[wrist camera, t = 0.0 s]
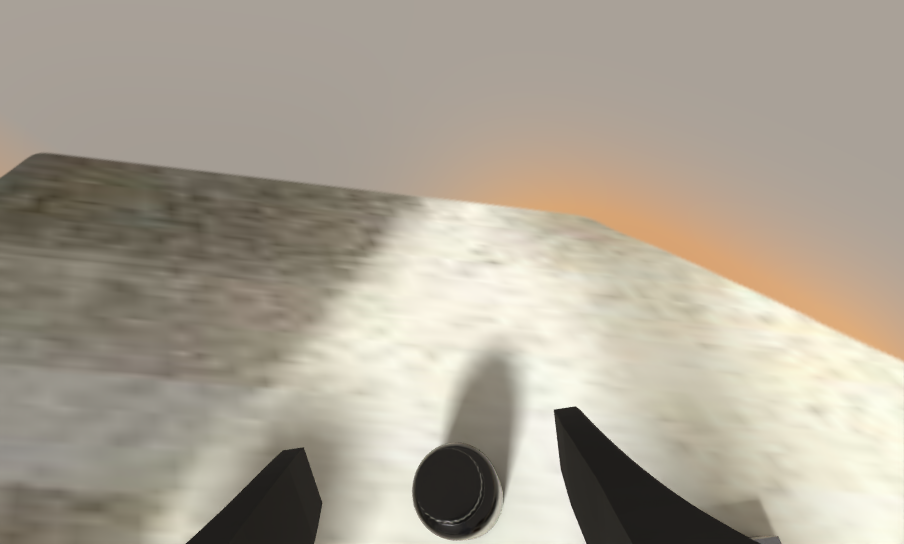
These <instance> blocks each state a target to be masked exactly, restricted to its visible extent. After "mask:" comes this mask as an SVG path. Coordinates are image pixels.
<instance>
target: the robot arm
mask: <svg viewBox="0 0 904 544" xmlns="http://www.w3.org/2000/svg"><path fill="white" fill-rule="evenodd" d="M554 415H555V424H556V432H557V441H558V449H559V458H560V466H561V471H562V475H563V479H564V482H565V486H566V489H567V493H568V496H569V500H570V503H571V506H572V509H573V511H574V514H575V516H576V519H577V521H578V524H579V526H580V529H581V531H582V534H583V536H584V539H585V541H586V544H761V543H759V542H757V541H755V540H753V539H751V538H749V537H747V536H745V535H743V534H741V533H739V532H738V531H736V530H734V529H732V528H730V527H729V526H727V525H725V524H724V523H722V522H720V521H718V520H717V519H715V518H713V517H711V516H710V515H708V514H706V513H705V512H703V511H701V510H700V509H698V508H696V507H695V506H693V505H692V504H690V503H689V502H687V501H686V500H684V499H683V498H681V497H680V496H678V495H677V494H676V493H674V492H673V491H671V490H670V489H668V488H667V487H666V486H664V485H663V484H662V483H660V482H659V481H658V480H656V479H655V478H654V477H653V476H651V475H650V474H649V473H648V472H646V471H645V470H644V469H643V468H641V467H640V466H639V465H638V464H636V463H635V462H634V461H633V460H632V459H630V458H629V457H628V456H627V455H626V454H625V453H624V452H623V451H621V450H620V449H619V448H618V447H617V446H616V445H615V444H614V443H613V442H611V441H610V440H609V439H608V438H607V437H606V436H605V435H604V434H603V433H602V432H601V431H600V430H599V429H598V428H597V427H596V426H595V425H594V424H593V423H592V422H591V421H590V420H589V419H588V418H587V417H586V416H585V415H584V413H583V412H582V411H581V410H580V409H578V408H577V407H576V406H575V407H569V408H562V409H556V410H554ZM321 507H322V501H321V498H320V495H319V492H318V489H317V486H316V483H315V480H314V477H313V474H312V471H311V468H310V465H309V462H308V459H307V456H306V453H305V450H304V447H303V448H296V449H290V450H283V451H282V452H281V453H280V454H279V455H278V456H276V457H275V458H274V459H273V460H272V461H271V462H270V463H269V464H268V465H267V466H266V467H265V468H264V469H263V470H262V471H261V472H260V473H259V474H258V475H257V476H256V477H255V478H254V479H253V480H252V481H251V482H250V483H249V484H248V485H247V486H246V487H245V488H244V489H243V490H242V491H241V492H240V493H239V494H238V495H237V496H236V497H235V498H234V499H233V500H232V501H231V502H230V503H229V504H228V505H227V506H226V507H225V508H224V509H223V510H222V511H221V512H220V513H219V514H217V515H216V516H215V517H214V518H213V519H212V520H211V521H210V522H209V523H208V524H207V525H206V526H205V527H203V528H202V529H201V530H200V531H199V532H198V533H197V534H196V535H195V536H194V537H193V538H192V539H190V540H189V541H188V542H187V543H186V544H314V541H315V537H316V533H317V528H318V523H319V518H320V513H321Z"/></svg>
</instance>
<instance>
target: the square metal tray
mask: <svg viewBox="0 0 904 544" xmlns="http://www.w3.org/2000/svg"><path fill="white" fill-rule="evenodd" d="M750 538H751V539H753V540H755V541H757V542H759V543H761V544H781V542H780V539H779V537H778V536H757V537H750Z"/></svg>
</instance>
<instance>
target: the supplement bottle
mask: <svg viewBox="0 0 904 544" xmlns="http://www.w3.org/2000/svg"><path fill="white" fill-rule="evenodd" d="M412 496H413V503H414V507H415V510H416V513H417V515H418V517H419V518H420V520H421V522H422V523H423V524H424V525H425V527H426V528H427V529H428V530H430V531H431V532H432V533H434V534H435V535H437V536H439V537H441V538H444V539H448V540H470V539H475V538H478V537H481V536H482V535H484V534H486V533H487V532H488V531H490V530H491V529H492V528H493V526H494V525H495V524H496V522H497V520H498V518H499V516H500V514H501V511H502V506H503V491H502V486H501V483H500V480H499V478H498V475H497V473H496V471H495V469H494V467H493V465H492V463H491V462H490V460H489V459H488V458H487V457H486V456H485V455H484V454H483V453H482V452H481V451H480V450H478V449H477V448H475V447H473V446H471V445H468V444H464V443H447V444H444V445H441V446H439V447H437V448H435V449H434V450H432V451H431V452H430V453H429V454H427V455H426V457H425V458H424V459H423V460H422V462H421V463H420V465H419V466H418V468H417V471H416V473H415V476H414V480H413V487H412Z"/></svg>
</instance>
